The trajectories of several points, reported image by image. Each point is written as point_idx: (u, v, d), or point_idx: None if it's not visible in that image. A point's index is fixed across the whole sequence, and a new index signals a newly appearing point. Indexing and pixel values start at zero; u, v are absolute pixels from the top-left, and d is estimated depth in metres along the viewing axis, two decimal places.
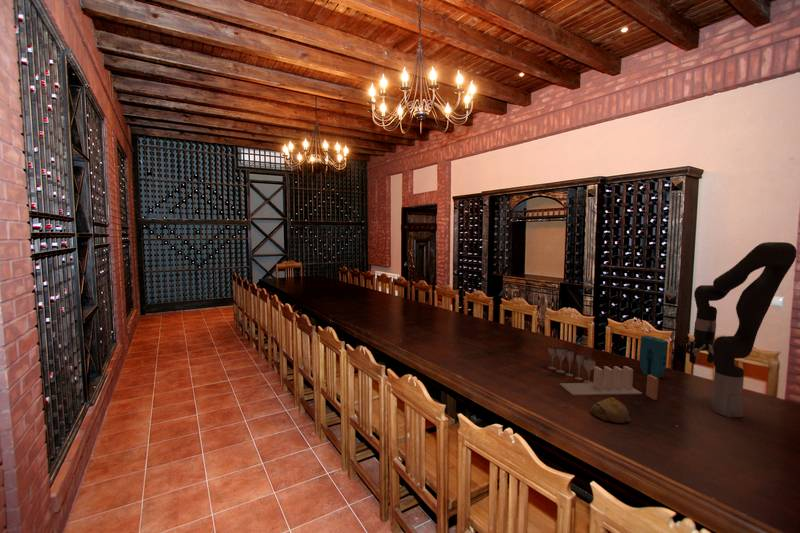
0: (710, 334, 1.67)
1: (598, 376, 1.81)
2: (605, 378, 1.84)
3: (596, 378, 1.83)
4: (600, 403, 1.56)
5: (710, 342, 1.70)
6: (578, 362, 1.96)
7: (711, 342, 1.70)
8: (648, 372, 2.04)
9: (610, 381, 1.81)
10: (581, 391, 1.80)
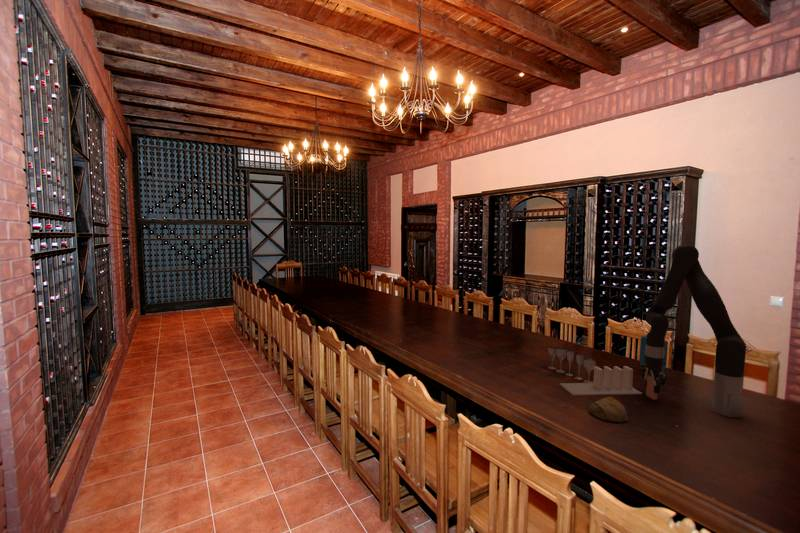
0: None
1: (598, 376, 1.81)
2: (605, 378, 1.84)
3: (596, 378, 1.83)
4: (598, 402, 1.57)
5: None
6: (578, 362, 1.96)
7: None
8: None
9: (610, 381, 1.81)
10: (581, 391, 1.80)
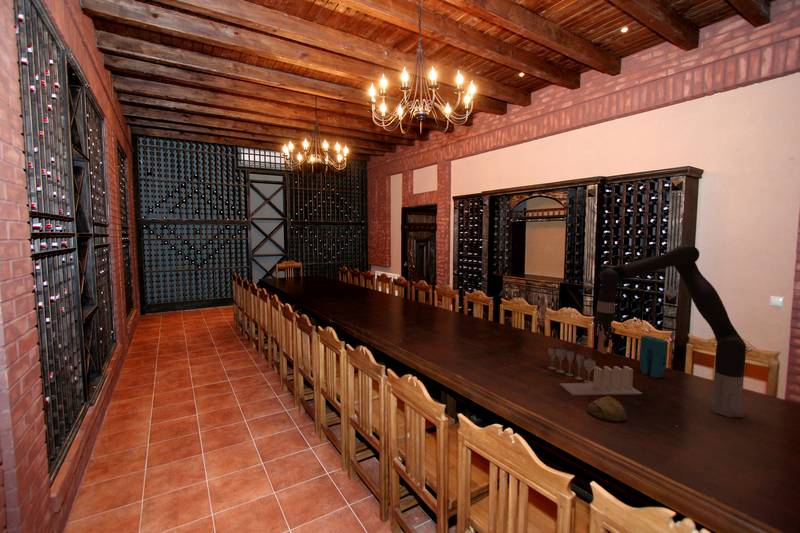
0: None
1: (598, 376, 1.81)
2: (605, 378, 1.84)
3: (596, 378, 1.83)
4: (597, 402, 1.58)
5: None
6: (578, 362, 1.96)
7: None
8: (648, 372, 2.04)
9: (610, 381, 1.81)
10: (581, 391, 1.80)
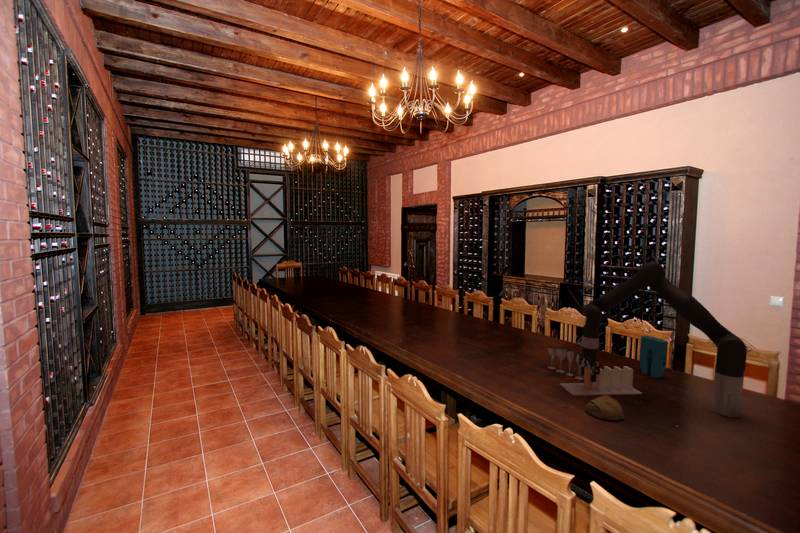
0: None
1: (598, 376, 1.81)
2: (605, 378, 1.84)
3: (596, 378, 1.83)
4: (595, 401, 1.58)
5: None
6: (578, 362, 1.96)
7: None
8: (648, 372, 2.04)
9: (610, 381, 1.81)
10: (581, 391, 1.80)
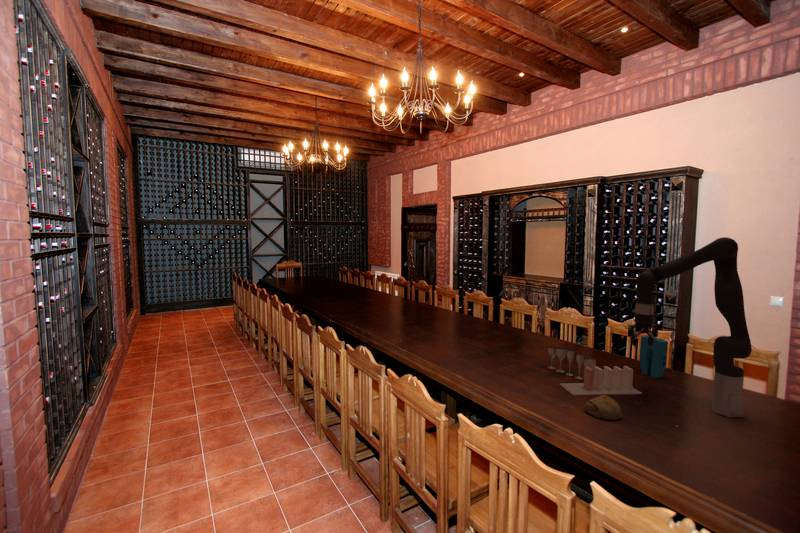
0: None
1: (598, 376, 1.81)
2: (605, 378, 1.84)
3: (596, 378, 1.83)
4: (593, 401, 1.59)
5: None
6: (578, 362, 1.96)
7: None
8: (648, 372, 2.04)
9: (610, 381, 1.81)
10: (581, 391, 1.80)
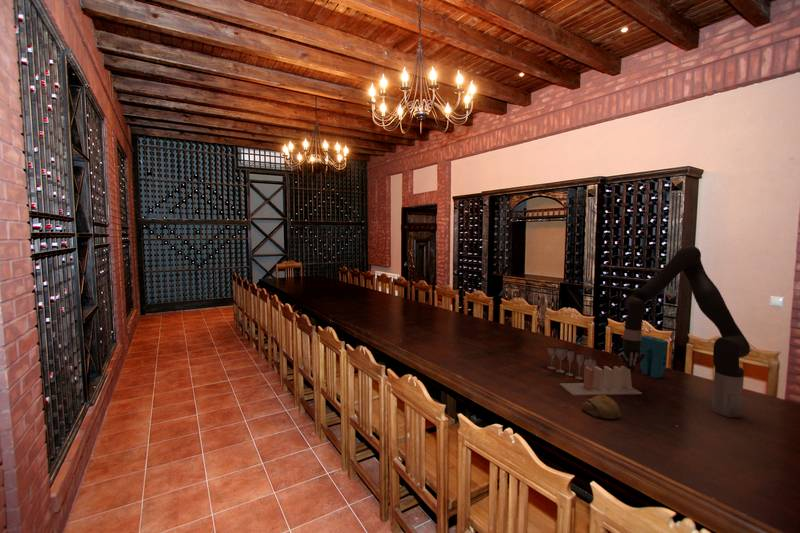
0: None
1: (598, 376, 1.81)
2: (605, 378, 1.84)
3: (596, 378, 1.83)
4: (592, 400, 1.59)
5: None
6: (578, 362, 1.96)
7: None
8: (648, 372, 2.04)
9: (610, 381, 1.81)
10: (581, 391, 1.80)
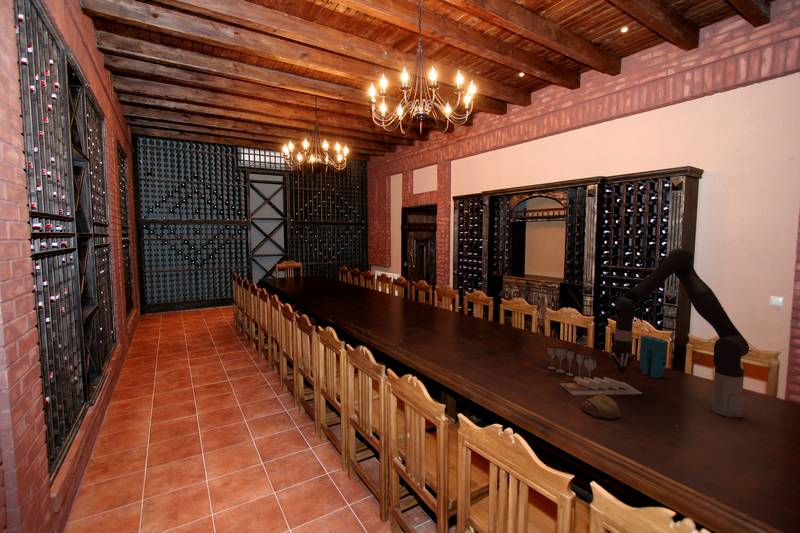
0: None
1: (584, 385, 1.81)
2: None
3: None
4: (591, 400, 1.59)
5: None
6: (578, 362, 1.96)
7: None
8: (648, 372, 2.04)
9: (600, 386, 1.81)
10: (581, 391, 1.80)
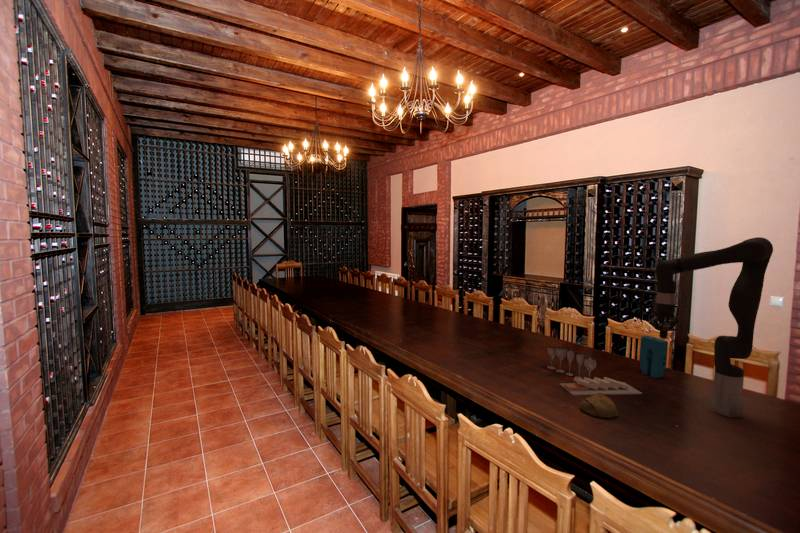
0: None
1: None
2: None
3: None
4: (589, 399, 1.60)
5: None
6: (579, 361, 1.97)
7: None
8: (648, 372, 2.04)
9: (600, 386, 1.81)
10: (581, 391, 1.80)
